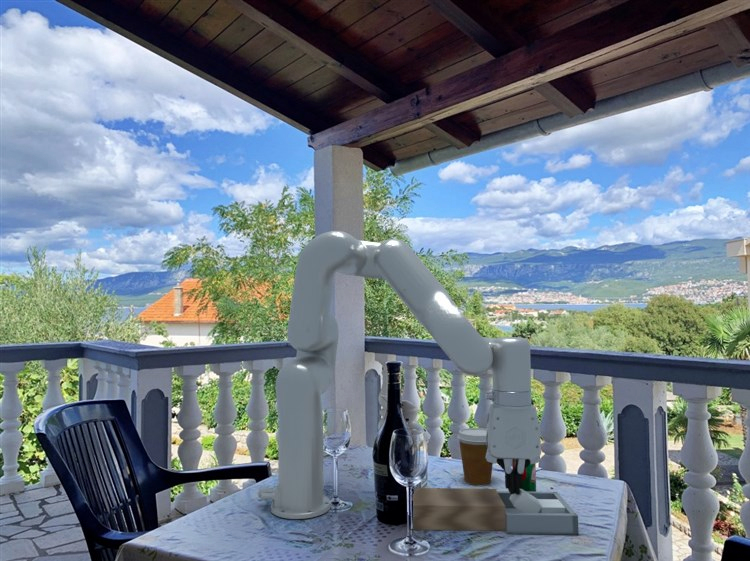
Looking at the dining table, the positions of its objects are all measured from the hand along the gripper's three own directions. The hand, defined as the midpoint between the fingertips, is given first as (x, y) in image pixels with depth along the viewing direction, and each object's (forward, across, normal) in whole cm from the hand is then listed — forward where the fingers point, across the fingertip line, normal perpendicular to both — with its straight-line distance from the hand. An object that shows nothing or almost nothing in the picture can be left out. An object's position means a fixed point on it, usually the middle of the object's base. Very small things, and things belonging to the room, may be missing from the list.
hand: (513, 491), depth 103 cm
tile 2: (+2, +7, 0) cm, 7 cm away
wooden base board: (+6, -12, 0) cm, 13 cm away
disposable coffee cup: (+6, -4, +24) cm, 25 cm away
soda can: (+6, +5, +14) cm, 16 cm away
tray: (+6, +4, 0) cm, 7 cm away
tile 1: (+3, +2, 0) cm, 4 cm away
